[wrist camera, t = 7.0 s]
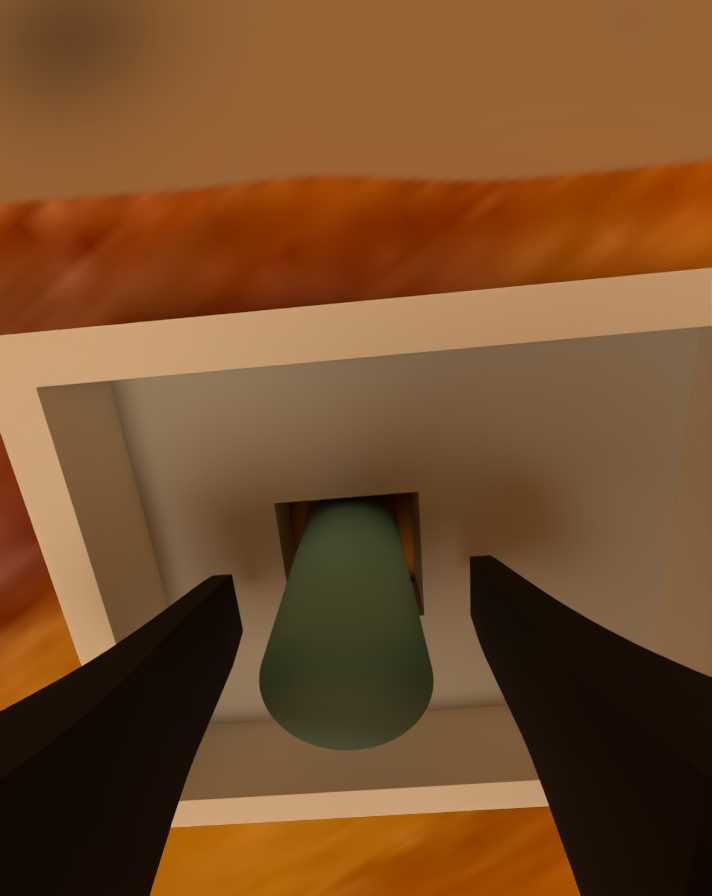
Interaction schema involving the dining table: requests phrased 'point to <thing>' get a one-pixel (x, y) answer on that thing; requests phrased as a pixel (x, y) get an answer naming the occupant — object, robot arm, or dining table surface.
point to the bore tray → (377, 473)
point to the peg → (348, 632)
